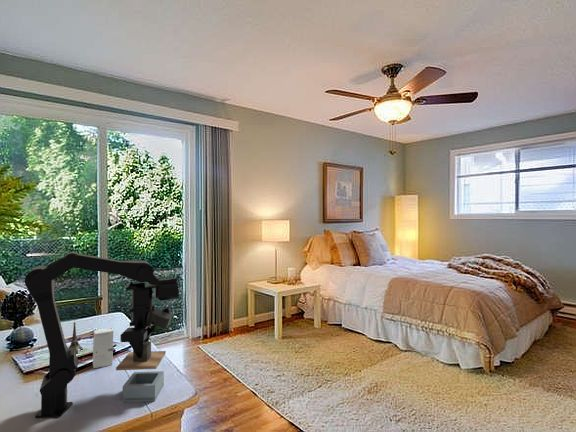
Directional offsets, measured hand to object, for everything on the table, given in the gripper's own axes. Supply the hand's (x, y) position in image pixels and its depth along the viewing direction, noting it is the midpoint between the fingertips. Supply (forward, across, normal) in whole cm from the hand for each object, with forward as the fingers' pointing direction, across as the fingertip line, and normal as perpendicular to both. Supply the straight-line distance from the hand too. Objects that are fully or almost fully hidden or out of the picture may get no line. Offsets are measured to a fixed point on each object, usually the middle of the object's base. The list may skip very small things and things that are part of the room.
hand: (142, 354), depth 105 cm
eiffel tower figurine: (+12, +32, +35) cm, 49 cm away
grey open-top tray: (+11, -1, -1) cm, 11 cm away
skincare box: (+11, +20, +20) cm, 31 cm away
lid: (+2, 0, 0) cm, 2 cm away
